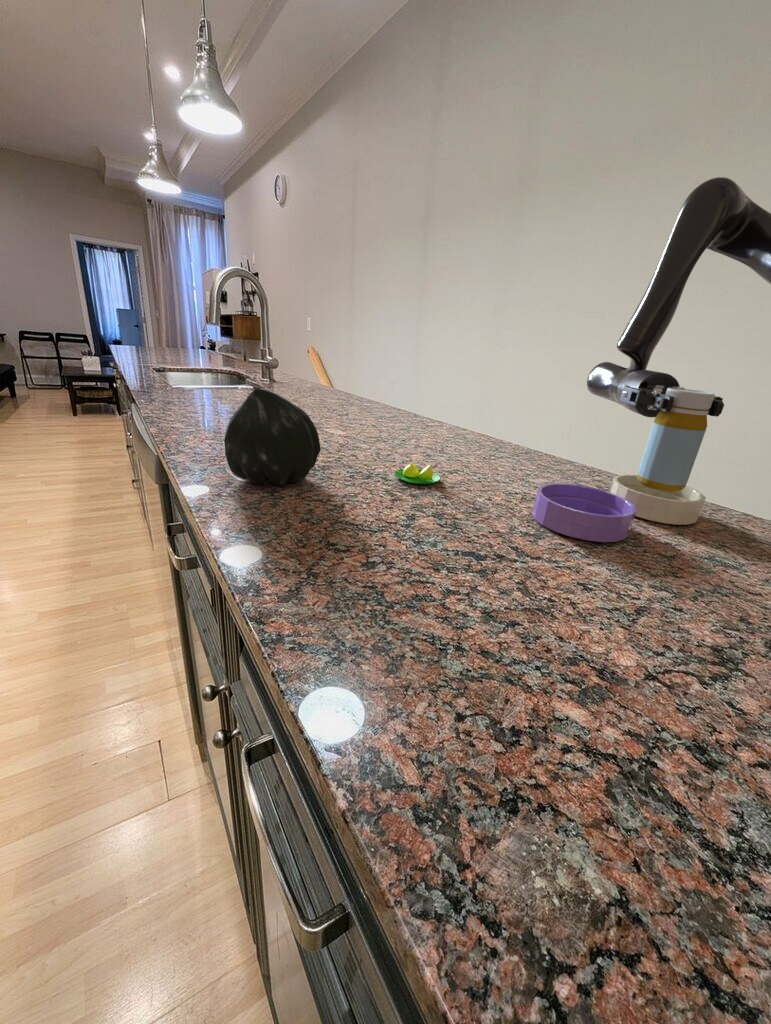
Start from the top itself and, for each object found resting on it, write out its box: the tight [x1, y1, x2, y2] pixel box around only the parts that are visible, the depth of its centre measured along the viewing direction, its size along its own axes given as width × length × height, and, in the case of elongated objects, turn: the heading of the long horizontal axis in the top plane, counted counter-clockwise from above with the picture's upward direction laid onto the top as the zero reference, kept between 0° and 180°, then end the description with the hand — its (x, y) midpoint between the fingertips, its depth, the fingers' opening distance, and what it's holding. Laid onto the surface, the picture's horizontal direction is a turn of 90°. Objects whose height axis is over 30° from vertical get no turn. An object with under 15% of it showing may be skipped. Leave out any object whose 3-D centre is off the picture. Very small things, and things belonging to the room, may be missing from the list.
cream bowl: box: [608, 474, 707, 526], centre depth 73 cm, size 13×13×4 cm
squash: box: [223, 387, 322, 486], centre depth 70 cm, size 14×15×15 cm
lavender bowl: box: [531, 482, 636, 543], centre depth 65 cm, size 13×13×4 cm
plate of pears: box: [393, 462, 441, 485], centre depth 78 cm, size 8×8×3 cm
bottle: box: [636, 388, 716, 492], centre depth 70 cm, size 7×7×15 cm
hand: (694, 406), depth 65 cm, fingers closed on bottle, 6 cm apart
